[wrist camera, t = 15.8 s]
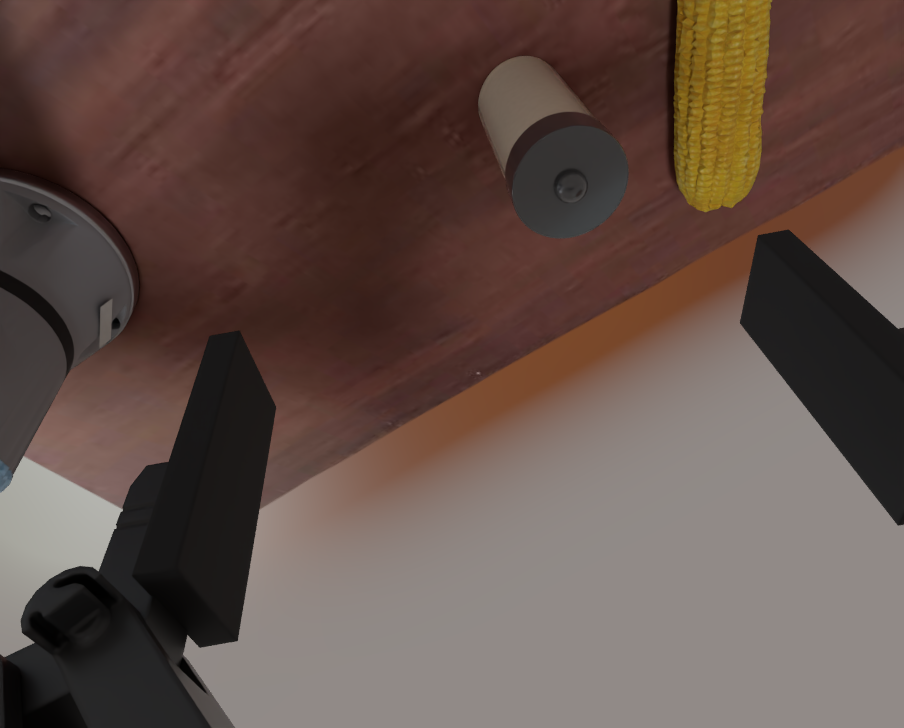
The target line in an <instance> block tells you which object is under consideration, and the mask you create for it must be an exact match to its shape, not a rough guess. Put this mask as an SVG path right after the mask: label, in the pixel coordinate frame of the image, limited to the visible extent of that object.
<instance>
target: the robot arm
mask: <svg viewBox="0 0 904 728" xmlns="http://www.w3.org/2000/svg"><path fill="white" fill-rule="evenodd" d="M138 295H139V277H138V271H137V268H136V264H135V261H134V259H133V256H132V254H131V252H130V250H129V248H128V246H127V245H126V243H125V242H124V240H123V239H122V237H121V236H120V235H119V233H118V232H117V231H116V229H115V228H114V227H113V226H112V225H111V224H110V223H109V221H107V220H106V219H105V218H104V217H103V216H102V215H101V214H100V213H99V212H98V211H97V210H95V209H94V208H93V207H92V206H91V205H89V204H88V203H86V202H85V201H84V200H82V199H81V198H79V197H78V196H76V195H75V194H73V193H71V192H70V191H68V190H66V189H64V188H62V187H60V186H58V185H56V184H54V183H52V182H49V181H47V180H45V179H42V178H39V177H36V176H34V175H30V174H27V173H23V172H19V171H14V170H9V169H2V168H0V492H2V491H3V490H4V489H5V488H6V487H7V486H9V484H10V482H11V480H12V477H13V474H14V472H15V470H16V468H17V467H18V465H19V463H20V461H21V459H22V457H23V455H24V454H25V452H26V450H27V448H28V446H29V444H30V443H31V441H32V439H33V437H34V435H35V433H36V431H37V430H38V428H39V426H40V424H41V422H42V420H43V419H44V417H45V415H46V413H47V411H48V409H49V407H50V406H51V404H52V402H53V400H54V398H55V396H56V395H57V393H58V391H59V389H60V387H61V385H62V383H63V381H64V380H65V378H66V376H67V374H68V373H69V371H70V370H71V369H73V368H74V367H75V366H77V365H78V364H80V363H81V362H83V361H84V360H85V359H87V358H88V357H90V356H91V355H93V354H94V353H95V352H97V351H98V350H100V349H101V348H103V347H104V346H105V345H107V344H108V343H109V342H111V341H112V340H113V339H115V338H116V337H117V336H118V335H119V334H120V333H121V331H122V330H123V329H124V327H125V326H126V324H127V322H128V320H129V318H130V316H131V314H132V312H133V310H134V308H135V306H136V303H137V299H138ZM740 324H741V325H742V326H743V328H744V329H745V330H746V331H747V333H748V334H749V335H750V337H751V338H752V339H753V340H754V342H755V343H756V344H757V346H758V347H759V348H760V349H761V351H762V352H763V353H764V355H765V356H766V357H767V358H768V360H769V361H770V362H771V363H772V365H773V366H774V367H775V369H776V370H777V371H778V372H779V374H780V375H781V376H782V377H783V379H784V380H785V381H786V383H787V384H788V385H789V386H790V388H791V389H792V390H793V392H794V393H795V394H796V395H797V397H798V398H799V399H800V401H801V402H802V403H803V405H804V406H805V407H806V408H807V410H808V411H809V412H810V413H811V415H812V416H813V417H814V418H815V420H816V421H817V422H818V424H819V425H820V426H821V428H822V429H823V430H824V431H825V432H826V434H827V435H828V436H829V438H830V439H831V440H832V442H833V443H834V444H835V445H836V447H837V448H838V449H839V451H840V452H841V453H842V454H843V456H844V457H845V458H846V460H847V461H848V462H849V463H850V464H851V466H852V467H853V469H854V470H855V471H856V472H857V473H858V475H859V476H860V477H861V479H862V480H863V481H864V483H865V484H866V485H867V486H868V488H869V489H870V490H871V491H872V493H873V494H874V495H875V497H876V498H877V499H878V501H879V502H880V503H881V504H882V506H883V507H884V508H885V509H886V511H887V512H888V513H889V515H890V516H891V517H892V518H893V520H894V521H895V522H896V523H897V525H903V524H904V328H900V329H897V328H896V327H895V326H894V325H893V324H892V323H891V322H890V321H889V320H888V319H886V318H885V317H884V316H883V315H882V314H881V313H880V312H879V311H878V310H877V309H875V308H874V307H873V306H872V305H871V304H870V303H869V302H868V301H867V300H865V299H864V298H863V297H862V296H861V295H860V294H859V293H858V292H857V291H856V290H854V289H853V288H852V287H851V286H850V285H849V284H848V283H847V282H846V281H845V280H844V279H842V278H841V277H840V276H839V275H838V274H837V273H836V272H835V271H834V270H833V269H831V268H830V267H829V266H828V265H827V264H826V263H825V262H824V261H823V260H822V259H820V258H819V257H818V256H817V255H816V254H815V253H814V252H813V251H812V250H810V249H809V248H808V247H807V246H806V245H805V244H804V243H803V242H802V241H801V240H800V239H798V238H797V237H796V236H795V235H794V234H793V233H792V232H791V231H790V230H784V231H778V232H773V233H768V234H763V235H758V238H757V243H756V247H755V252H754V257H753V262H752V267H751V272H750V276H749V282H748V286H747V291H746V296H745V301H744V305H743V310H742V315H741V320H740ZM275 411H276V406H275V404H274V402H273V399H272V397H271V395H270V393H269V391H268V389H267V387H266V385H265V383H264V381H263V379H262V376H261V374H260V372H259V370H258V368H257V366H256V364H255V362H254V360H253V358H252V356H251V354H250V351H249V349H248V347H247V345H246V343H245V341H244V339H243V337H242V335H241V333H240V331H234V332H229V333H223V334H218V335H212V336H209V339H208V343H207V346H206V349H205V352H204V355H203V358H202V361H201V364H200V367H199V370H198V373H197V376H196V379H195V382H194V386H193V389H192V392H191V395H190V398H189V401H188V404H187V407H186V410H185V413H184V416H183V419H182V422H181V425H180V429H179V432H178V435H177V438H176V441H175V444H174V447H173V450H172V453H171V456H170V459H169V462H165V463H159V464H154V465H148V466H146V467H145V468H144V470H143V471H142V472H141V474H140V475H139V476H138V477H137V479H136V480H135V481H134V482H133V484H132V485H131V486H130V489H129V491H128V494H127V497H126V499H125V502H124V505H123V511H122V512H121V513H120V516H119V518H118V521H117V524H116V525H117V529H114V532H113V534H112V537H111V540H110V543H109V545H108V548H107V551H106V553H105V556H104V559H103V562H102V564H101V567H100V569H99V572H98V571H97V570H96V569H94V568H93V567H83V566H79V567H75V568H72V569H68V570H65V571H63V572H61V573H60V574H58V575H56V576H54V577H53V578H51V579H49V580H48V581H47V582H46V583H45V584H44V585H43V586H42V587H41V588H39V589H38V590H37V591H36V592H35V594H34V595H33V596H32V598H31V599H30V601H29V602H28V604H27V605H26V607H25V610H24V612H23V615H22V618H21V627H22V633H23V634H24V635H26V636H27V637H29V638H30V639H31V640H33V641H34V642H35V643H34V644H32V645H30V646H27V647H25V648H23V649H21V650H19V651H17V652H15V653H13V654H11V655H8V656H7V657H3V656H2V655H0V728H235V727H234V726H233V724H232V723H231V721H230V720H229V719H228V717H227V715H226V714H225V713H224V711H223V710H222V708H221V707H220V705H219V704H218V702H217V701H216V700H215V698H214V697H213V695H212V694H211V692H210V691H209V689H208V688H207V687H206V685H205V684H204V682H203V681H202V679H201V678H200V677H199V675H198V674H197V672H196V671H195V669H194V668H193V667H192V665H191V664H190V662H189V661H188V660H187V659H186V658H185V657H184V656H183V652H184V648H185V642H186V639H187V635H188V636H189V637H190V638H191V639H192V640H193V641H194V642H195V643H196V644H197V645H198V646H199V647H200V648H201V647H206V646H212V645H217V644H223V643H228V642H235V641H238V635H239V629H240V623H241V617H242V611H243V605H244V599H245V593H246V587H247V581H248V575H249V569H250V562H251V557H252V550H253V544H254V538H255V532H256V526H257V520H258V514H259V508H260V502H261V496H262V490H263V484H264V478H265V472H266V466H267V460H268V454H269V448H270V442H271V435H272V429H273V423H274V417H275Z"/></svg>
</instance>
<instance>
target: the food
mask: <svg viewBox="0 0 904 728" xmlns="http://www.w3.org/2000/svg"><path fill="white" fill-rule="evenodd" d="M771 2H772V0H677V3H678V12H677V17H676V18H677V28H676V54H675V70H674V72H675V76H674V91H675V95H674V100H675V101H674V102H673V104H674V110H675V113H674V118H675V120H674V136H675V137H674V160H675V172H676V177H677V184H678V185H679V190H680V191H681V192H682V193H683V195H684V196H685V198H686V200H687V202H688V204H690V205H692V206H694V207H695V208H696V209H697V210H701V211H705V212H707V211H709V210H714V209H718V208H719V207H720V206H725V207H730V208H732V207H733V206H734V205H735V204H736V203H737V202H740V201H742V199H743V198H744V197H745V196H747V194H748V193H749V191H750V189H751V188H752V185H753V183H754V181H755V179H756V175H757V172H758V170H759V165H760V157H761V151H762V144H761V136H762V130H761V114H762V113H763V109H762V104H763V94H764V93H765V92H766V91H765V86H764V84H765V80H766V78H767V72H766V67H767V58H768V56H769V53H768V48H769V43H768V41H769V28H770V21H771V20H770V18H769V17H770V15H769V10H770V9H771V5H770V3H771Z"/></svg>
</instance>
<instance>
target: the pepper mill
mask: <svg viewBox="0 0 904 728" xmlns="http://www.w3.org/2000/svg"><path fill="white" fill-rule="evenodd" d="M478 111H479V117H480V120H481V123H482V125H483V128H484V130H485V133H486V135H487V137H488V140H489V142H490V145H491V147H492V150H493V152H494V154H495V157H496V159H497V162H498V164H499V167H500V169H501V172H502V174H503V176H504V179H505V181H506V187H507V190H508V193H509V196H510V198H511V201H512V203H513V206H514V208H515V211H516V213H517V215H518V216H519V218H520V219H521V221H522V222H523V223H524V224H525V225H526V226H527V227H528V228H530V229H531V230H532V231H534V232H536V233H538V234H540V235H543V236H546V237H550V238H571V237H575V236H579V235H582V234H585V233H587V232H589V231H591V230H593V229H594V228H596V227H598V226H599V225H600V224H602V223H603V222H604V221H605V220H606V219H608V218H609V217H610V216H611V214H612V213H613V212H614V211H615V210H616V208H617V207H618V205H619V204H620V202H621V200H622V198H623V196H624V193H625V191H626V187H627V183H628V175H629V170H628V161H627V158H626V155H625V152H624V150H623V148H622V146H621V145H620V144H619V142H618V141H617V140H616V139H615V137H614V136H613V135H612V134H611V133H610V132H609V130H608V129H607V128H606V127H605V126H604V125H603V124H602V123H601V122H600V121H598V120H597V119H596V118H595V117H594V116H593V115H592V113H591V112H590V111H589V110H588V109H587V107H586V106H585V105H584V104H583V103H582V101H581V100H580V99H579V98H578V97H577V95H576V94H575V93H574V92H573V91H572V90H571V88H570V87H569V86H568V85H567V84H566V82H565V81H564V80H563V79H562V78H561V76H560V75H559V74H558V73H557V72H556V70H555V69H554V68H553V67H552V66H551V65H550V64H548V63H547V62H546V61H544V60H542V59H540V58H537V57H532V56H518V57H514V58H511V59H509V60H506V61H504V62H503V63H501V64H500V65H498V66H497V67H496V68H495V69H494V70H493V71H492V72H491V73H490V74H489V75H488V77H487V78H486V80H485V82H484V84H483V86H482V88H481V91H480V95H479V101H478Z"/></svg>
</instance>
